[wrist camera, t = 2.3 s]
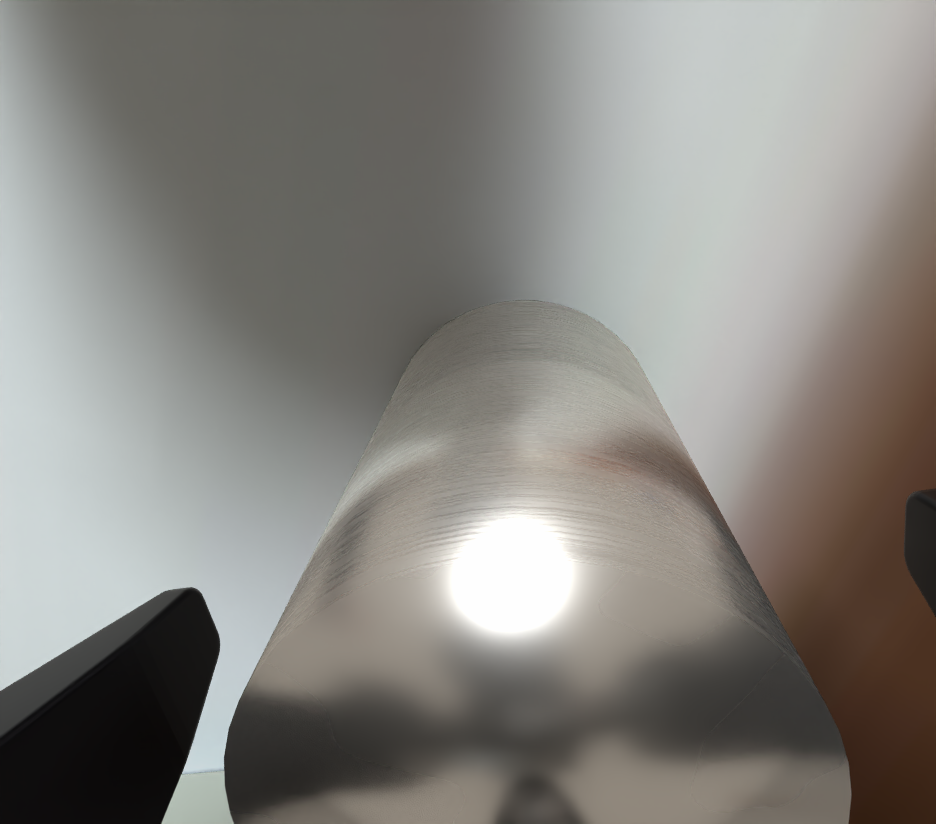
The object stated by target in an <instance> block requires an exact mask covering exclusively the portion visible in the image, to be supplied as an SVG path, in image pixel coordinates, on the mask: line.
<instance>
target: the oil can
mask: <svg viewBox="0 0 936 824" xmlns="http://www.w3.org/2000/svg"><path fill="white" fill-rule="evenodd" d="M224 777H225V790H226V795H227V800H228V805H229V810H230V815H231V817H232V820H233V823H234V824H848V823H849V814H850V804H851V783H850V773H849V763H848V759H847V756H846V752H845V749H844V746H843V742H842V739H841V735H840V732H839V730H838V728H837V726H836V724H835V722H834V720H833V718H832V716H831V714H830V712H829V710H828V708H827V706H826V704H825V702H824V700H823V698H822V697H821V695H820V693H819V691H818V689H817V687H816V686H815V684H814V682H813V680H812V678H811V676H810V675H809V673H808V671H807V669H806V667H805V666H804V664H803V662H802V660H801V658H800V656H799V655H798V653H797V651H796V649H795V647H794V645H793V644H792V642H791V640H790V638H789V636H788V634H787V633H786V631H785V629H784V627H783V625H782V624H781V622H780V620H779V618H778V616H777V614H776V613H775V611H774V609H773V607H772V605H771V603H770V602H769V600H768V598H767V596H766V594H765V592H764V591H763V589H762V587H761V585H760V583H759V582H758V580H757V578H756V576H755V574H754V572H753V571H752V569H751V567H750V565H749V563H748V561H747V560H746V558H745V556H744V554H743V552H742V550H741V549H740V547H739V545H738V543H737V541H736V540H735V538H734V536H733V534H732V532H731V530H730V529H729V527H728V525H727V523H726V521H725V519H724V518H723V516H722V514H721V512H720V510H719V508H718V507H717V505H716V503H715V501H714V499H713V497H712V496H711V494H710V492H709V490H708V488H707V487H706V485H705V483H704V481H703V479H702V477H701V476H700V474H699V472H698V470H697V468H696V466H695V465H694V463H693V461H692V459H691V457H690V455H689V454H688V452H687V450H686V448H685V446H684V445H683V443H682V441H681V439H680V437H679V435H678V434H677V432H676V430H675V428H674V426H673V424H672V423H671V421H670V419H669V417H668V415H667V413H666V412H665V410H664V408H663V406H662V404H661V403H660V401H659V399H658V397H657V395H656V393H655V392H654V390H653V388H652V386H651V384H650V382H649V381H648V379H647V377H646V375H645V373H644V371H643V370H642V368H641V366H640V364H639V362H638V361H637V359H636V358H635V357H634V355H633V354H632V352H631V351H630V349H629V348H628V347H627V346H626V345H625V344H624V343H623V342H622V341H621V340H620V339H619V337H618V336H617V335H615V334H614V333H613V332H612V331H610V330H609V329H608V328H607V327H605V326H604V325H603V324H601V323H600V322H598V321H596V320H595V319H593V318H591V317H590V316H588V315H586V314H584V313H581V312H579V311H577V310H574V309H572V308H569V307H565V306H562V305H558V304H555V303H549V302H542V301H535V300H515V301H506V302H498V303H494V304H490V305H486V306H482V307H479V308H477V309H474V310H472V311H469V312H467V313H464V314H462V315H460V316H459V317H457V318H455V319H453V320H451V321H450V322H448V323H447V324H445V325H444V326H443V327H441V328H440V329H439V330H437V331H436V332H435V333H434V334H433V335H432V336H431V337H430V338H429V339H428V340H427V341H426V342H425V343H423V344H422V346H421V347H420V348H419V350H418V351H417V352H416V354H415V355H414V356H413V357H412V359H411V361H410V363H409V364H408V366H407V368H406V370H405V372H404V373H403V375H402V377H401V379H400V381H399V383H398V385H397V387H396V389H395V391H394V393H393V395H392V397H391V399H390V401H389V403H388V405H387V407H386V409H385V411H384V413H383V415H382V417H381V419H380V421H379V423H378V425H377V427H376V429H375V431H374V433H373V435H372V437H371V439H370V441H369V443H368V445H367V447H366V449H365V451H364V453H363V455H362V457H361V459H360V461H359V463H358V465H357V467H356V469H355V471H354V473H353V475H352V477H351V479H350V481H349V483H348V485H347V487H346V489H345V491H344V493H343V495H342V497H341V499H340V501H339V503H338V505H337V507H336V509H335V511H334V513H333V515H332V517H331V519H330V521H329V523H328V525H327V527H326V529H325V531H324V533H323V535H322V537H321V539H320V541H319V543H318V545H317V547H316V549H315V550H314V552H313V554H312V556H311V558H310V560H309V562H308V564H307V566H306V568H305V570H304V572H303V574H302V576H301V578H300V580H299V582H298V584H297V586H296V588H295V590H294V592H293V594H292V596H291V598H290V600H289V602H288V604H287V606H286V608H285V610H284V612H283V614H282V616H281V618H280V620H279V622H278V624H277V626H276V628H275V630H274V632H273V634H272V636H271V638H270V640H269V642H268V644H267V646H266V648H265V650H264V652H263V654H262V656H261V658H260V660H259V662H258V664H257V666H256V668H255V670H254V672H253V674H252V676H251V678H250V680H249V682H248V684H247V686H246V688H245V690H244V692H243V694H242V696H241V698H240V700H239V702H238V705H237V708H236V710H235V713H234V716H233V719H232V721H231V724H230V727H229V731H228V737H227V743H226V749H225V755H224Z"/></svg>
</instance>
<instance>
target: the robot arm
mask: <svg viewBox="0 0 936 824" xmlns="http://www.w3.org/2000/svg"><path fill="white" fill-rule="evenodd" d="M904 556H905V561H906V565H907V568H908V570H909V572H910V574H911V576H912V578H913V579H914V581H915V583H916V584H917V586H918V588H919V589H920V591H921V593H922V595H923V596H924V598H925V600H926V601H927V603H928V605H929V606H930V608H931V610H932V612H933V613H934V615H935V617H936V489H929V490H921V491H915V492H913V493H912V494H911V495H910V496H908V499H907V502H906V510H905V537H904ZM219 652H220V638H219V634H218V631H217V629H216V626H215V624H214V622H213V619H212V617H211V614H210V612H209V610H208V607H207V605H206V602H205V600H204V598H203V596H202V594H201V592H200V591H199V590H197V589H195V588H193V587H189V588H181V589H173V590H168V591H165V592H163V593H161V594H159V595H157V596H156V597H154V598H153V599H151V600H149V601H148V602H146V603H144V604H143V605H141V606H139V607H138V608H136V609H134V610H133V611H131V612H130V613H128V614H126V615H125V616H123V617H121V618H120V619H118V620H116V621H115V622H113V623H111V624H110V625H108V626H107V627H105V628H103V629H102V630H100V631H98V632H97V633H95V634H93V635H92V636H90V637H88V638H87V639H85V640H84V641H82V642H80V643H79V644H77V645H75V646H74V647H72V648H70V649H69V650H67V651H65V652H64V653H62V654H61V655H59V656H57V657H56V658H54V659H52V660H51V661H49V662H47V663H46V664H44V665H42V666H41V667H39V668H38V669H36V670H34V671H33V672H31V673H29V674H28V675H26V676H24V677H23V678H21V679H19V680H18V681H16V682H14V683H13V684H11V685H10V686H8V687H6V688H5V689H3V690H1V691H0V824H162V821H163V819H164V816H165V814H166V811H167V809H168V806H169V804H170V801H171V799H172V797H173V794H174V792H175V789H176V787H177V784H178V782H179V779H180V777H181V774H182V772H183V769H184V766H185V764H186V761H187V758H188V755H189V752H190V749H191V746H192V743H193V740H194V736H195V733H196V730H197V726H198V723H199V720H200V716H201V713H202V710H203V706H204V703H205V700H206V696H207V693H208V690H209V686H210V683H211V680H212V676H213V673H214V670H215V666H216V663H217V660H218V656H219Z"/></svg>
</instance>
